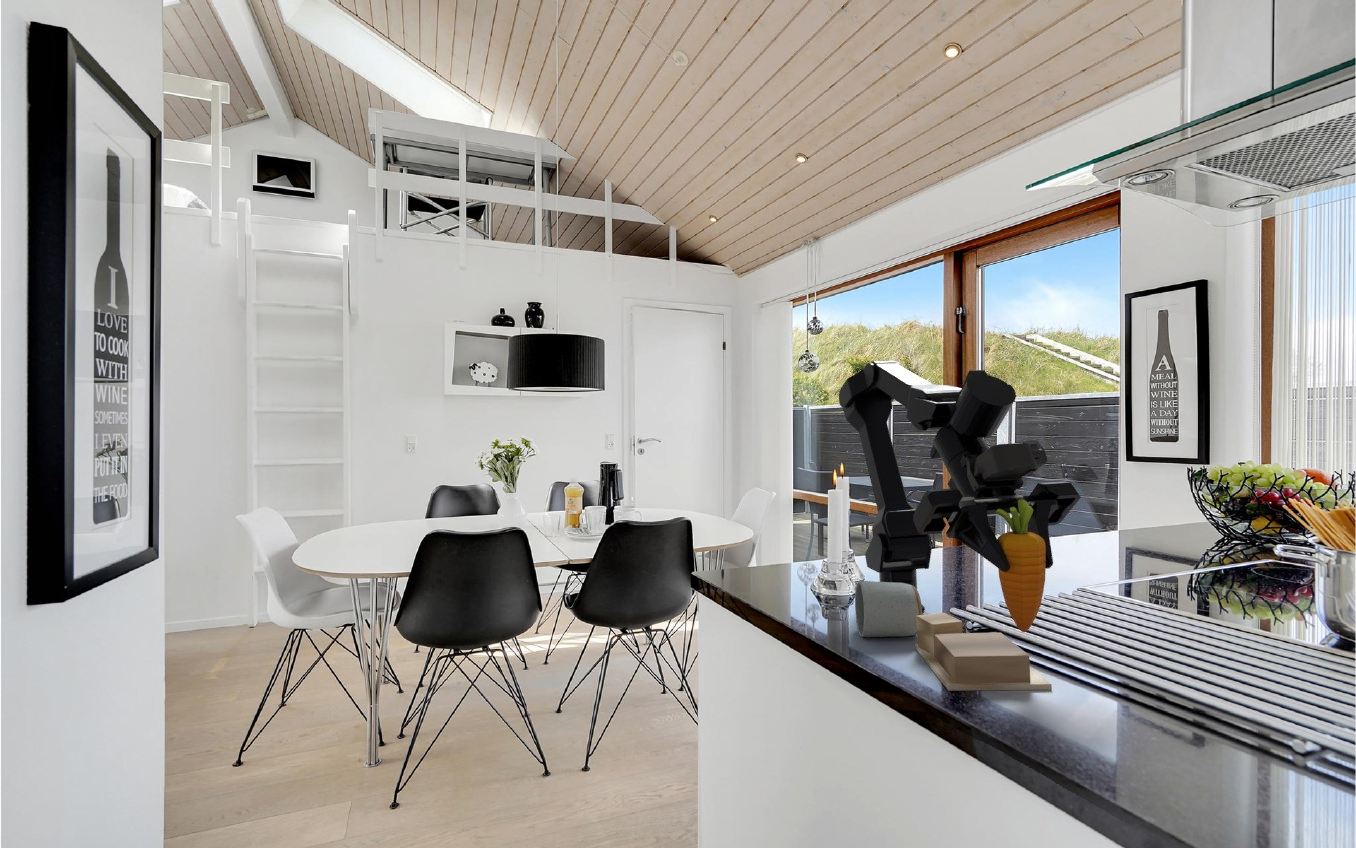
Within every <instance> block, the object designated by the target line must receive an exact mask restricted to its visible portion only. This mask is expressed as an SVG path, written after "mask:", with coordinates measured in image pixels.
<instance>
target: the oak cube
mask: <svg viewBox="0 0 1356 848" xmlns="http://www.w3.org/2000/svg"><path fill="white" fill-rule="evenodd" d="M916 624H917V634H916V641H917V644H918V647H920V648H921V649H923V650H925V651H926V652H928V653H930V654H931V655H933V656H935V649H934V634H952V633H964V632H963V621H962V620H960V619H959V618H956V617H954V616H952V615H950V614H947V613H946V612H937V613H928V614H922V615H917V616H916Z"/></svg>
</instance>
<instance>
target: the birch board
mask: <svg viewBox="0 0 1356 848" xmlns="http://www.w3.org/2000/svg"><path fill="white" fill-rule="evenodd" d="M914 649H915V650H916V651H917V652H918V654H919V655H920V656H921V658H923V660H924V661H925V662H926V664H927V666H928V667H930V669H931V670H932V672H933V673H934V674H935V676H936V677H937V678H938V680H939V681H940V682H941V683H942V684H943V686H944V687H945V688H946V690H947V691H948V692H949V691H1030V690H1031V691H1036V690H1037V691H1047V690H1049V691H1050V690H1053V687H1052V686H1053V683H1051V682H1050V681H1049V680H1048V679H1046V678H1045V677H1044V676H1043V675H1041V674H1040V673H1039V672H1038V671H1036V670H1035V669H1034V668H1033V667H1032V666H1031V665H1030V682H1031V683H955V682H954V681H953V679H952V678H951V677H950V676H949V674H948V673H947V672H946V671H945V670H944V668H943V667H942V666H941V665H940V664H939V662H938V661H937V660H936V659H935V656H933V655H931V654H930V653H928V652H926V651H925V650H923V649H921V648H920V647H918V644H917V643H914Z"/></svg>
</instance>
